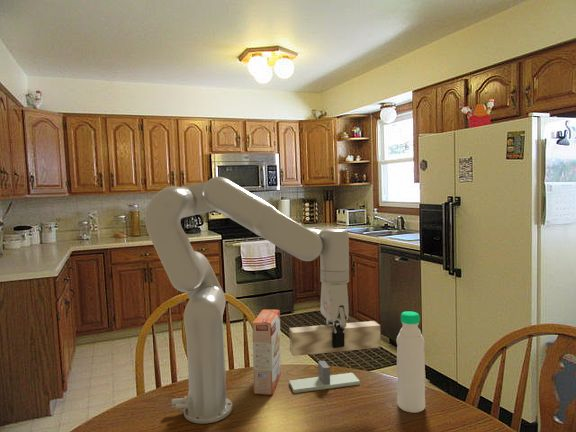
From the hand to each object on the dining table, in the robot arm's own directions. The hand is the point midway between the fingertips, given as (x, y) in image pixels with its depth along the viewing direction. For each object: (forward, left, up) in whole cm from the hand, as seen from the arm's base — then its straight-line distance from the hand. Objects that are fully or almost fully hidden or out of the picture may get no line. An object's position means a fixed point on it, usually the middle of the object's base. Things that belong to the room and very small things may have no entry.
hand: (335, 343), depth 110 cm
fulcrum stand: (0, +12, -17) cm, 21 cm away
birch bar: (0, 0, -1) cm, 1 cm away
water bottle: (+18, -7, -17) cm, 26 cm away
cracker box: (-16, +16, -17) cm, 28 cm away
